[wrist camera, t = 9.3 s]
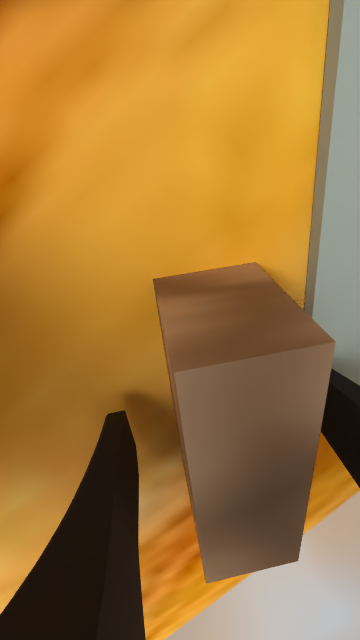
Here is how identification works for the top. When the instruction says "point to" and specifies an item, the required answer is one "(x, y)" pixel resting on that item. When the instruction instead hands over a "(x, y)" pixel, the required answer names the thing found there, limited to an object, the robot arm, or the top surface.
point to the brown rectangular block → (244, 411)
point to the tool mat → (338, 195)
